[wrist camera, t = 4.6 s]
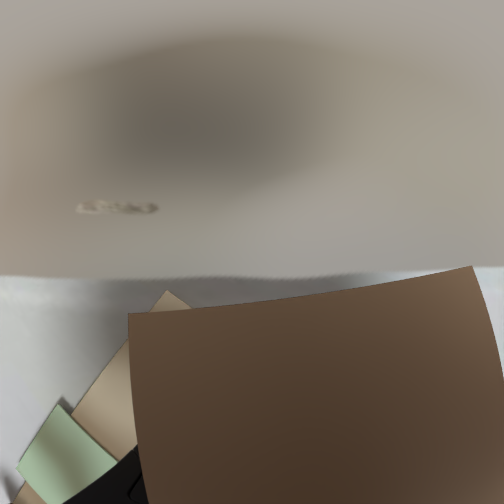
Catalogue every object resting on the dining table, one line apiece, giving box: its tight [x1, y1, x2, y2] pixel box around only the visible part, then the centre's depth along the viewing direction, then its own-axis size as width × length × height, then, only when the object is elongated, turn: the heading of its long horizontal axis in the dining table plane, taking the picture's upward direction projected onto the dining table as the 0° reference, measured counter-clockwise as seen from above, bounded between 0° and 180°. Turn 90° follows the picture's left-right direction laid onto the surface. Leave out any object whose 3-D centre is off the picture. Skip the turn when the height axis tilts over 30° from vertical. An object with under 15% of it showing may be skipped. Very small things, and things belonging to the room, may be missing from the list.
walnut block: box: [128, 266, 504, 504], centre depth 8 cm, size 4×4×13 cm
